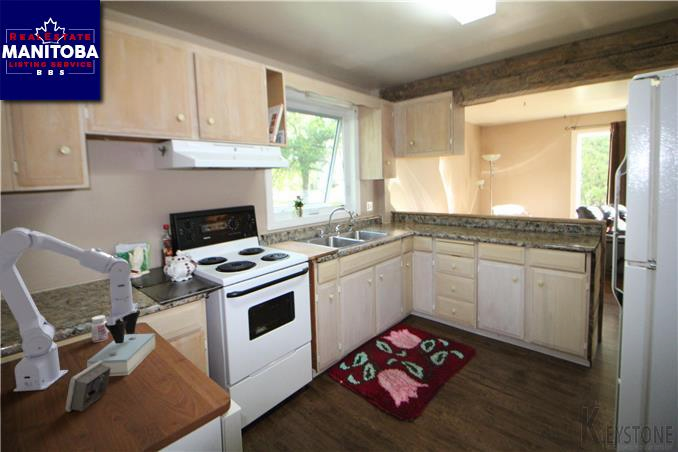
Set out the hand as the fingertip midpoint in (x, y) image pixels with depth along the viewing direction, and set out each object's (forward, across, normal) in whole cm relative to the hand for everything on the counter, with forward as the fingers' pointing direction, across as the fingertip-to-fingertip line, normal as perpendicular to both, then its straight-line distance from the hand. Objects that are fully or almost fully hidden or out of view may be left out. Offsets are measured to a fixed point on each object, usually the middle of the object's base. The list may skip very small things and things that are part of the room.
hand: (125, 338), depth 109 cm
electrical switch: (+7, -22, -2) cm, 24 cm away
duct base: (+7, -2, 0) cm, 7 cm away
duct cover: (+3, -1, 0) cm, 3 cm away
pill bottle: (+7, +16, +17) cm, 25 cm away
